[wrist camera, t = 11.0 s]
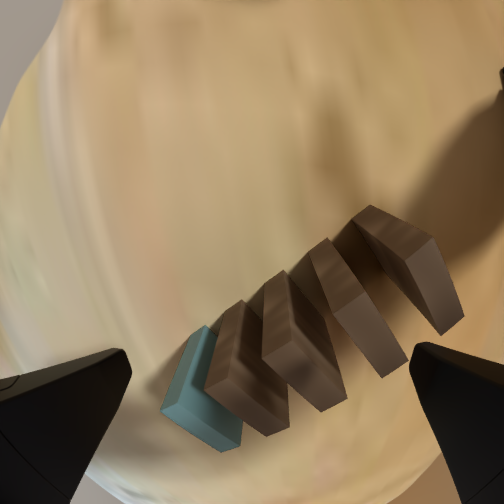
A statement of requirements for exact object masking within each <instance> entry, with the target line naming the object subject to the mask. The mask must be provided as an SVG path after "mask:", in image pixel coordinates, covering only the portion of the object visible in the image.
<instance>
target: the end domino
mask: <svg viewBox="0 0 504 504" xmlns="http://www.w3.org/2000/svg"><path fill="white" fill-rule="evenodd" d="M217 339H218V337H217V336H216V335H215V334H214V333H213V332H212V331H211V330H210V329H209V328H208V327H207V326H206V325H204V326H203V327H202V328H200V329H199V330H197V331H196V332H194V333H193V334H192V335H191V336H190V338H189V340H188V343H187V345H186V348H185V350H184V353H183V355H182V357H181V360H180V362H179V365H178V367H177V369H176V372H175V374H174V377H173V379H172V382H171V384H170V387H169V389H168V392H167V394H166V397H165V399H164V402H163V404H162V407H161V409H160V412H162V413H163V414H164V415H166V416H167V417H168V418H170V419H171V420H172V421H174V422H175V423H177V424H178V425H179V426H181V427H182V428H184V429H185V430H187V431H188V432H190V433H191V434H193V435H194V436H196V437H197V438H199V439H200V440H202V441H203V442H205V443H206V444H208V445H210V446H211V447H213V448H215V449H216V450H218V451H220V452H224V451H227V450H230V449H233V448H236V447H239V446H240V444H241V434H242V425H243V420H241V419H240V418H239V417H237V416H236V415H235V414H233V413H232V412H231V411H229V410H228V409H227V408H225V407H224V406H223V405H221V404H220V403H219V402H218V401H216V400H215V399H214V398H212V397H211V396H210V395H209V394H207V393H206V392H205V391H204V386H205V383H206V379H207V375H208V372H209V368H210V364H211V360H212V357H213V353H214V349H215V346H216V342H217Z"/></svg>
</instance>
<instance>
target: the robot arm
mask: <svg viewBox="0 0 504 504" xmlns="http://www.w3.org/2000/svg"><path fill="white" fill-rule="evenodd" d="M503 73H504V67H503ZM409 372H410V375H411V377H412V380H413V383H414V386H415V389H416V392H417V395H418V398H419V401H420V403H421V406H422V408H423V411H424V413H425V415H426V417H427V419H428V421H429V423H430V426H431V428H432V430H433V432H434V435H435V437H436V439H437V441H438V444H439V446H440V448H441V451H442V453H443V456H444V458H445V460H446V463H447V465H448V468H449V470H450V473H451V476H452V478H453V481H454V483H455V486H456V489H457V492H458V494H459V497H460V500H461V503H462V504H504V365H503V364H499V363H496V362H493V361H489V360H486V359H482V358H479V357H476V356H472V355H469V354H466V353H462V352H459V351H456V350H453V349H449V348H446V347H443V346H440V345H437V344H433V343H430V342H422V343H417V344H416V345H415V347H414V350H413V354H412V357H411V360H410V364H409ZM131 376H132V369H131V366H130V363H129V360H128V358H127V355H126V352H125V351H124V350H123V349H118V348H111V349H108V350H105V351H101V352H98V353H95V354H92V355H88V356H85V357H82V358H79V359H75V360H72V361H69V362H65V363H62V364H58V365H55V366H51V367H48V368H44V369H41V370H37V371H33V372H30V373H26V374H22V375H21V376H20V375H17V376H13V377H9V378H4V379H0V504H70V502H71V499H72V497H73V495H74V493H75V491H76V489H77V487H78V485H79V483H80V481H81V479H82V477H83V475H84V473H85V471H86V469H87V467H88V465H89V463H90V461H91V459H92V457H93V455H94V453H95V451H96V450H97V448H98V446H99V444H100V442H101V440H102V438H103V436H104V434H105V432H106V431H107V429H108V427H109V425H110V423H111V421H112V419H113V418H114V416H115V414H116V412H117V410H118V408H119V406H120V403H121V401H122V398H123V396H124V393H125V391H126V388H127V386H128V384H129V381H130V379H131Z"/></svg>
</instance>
